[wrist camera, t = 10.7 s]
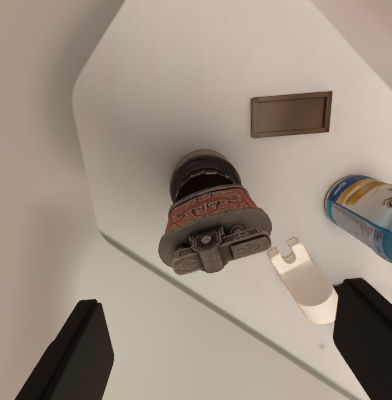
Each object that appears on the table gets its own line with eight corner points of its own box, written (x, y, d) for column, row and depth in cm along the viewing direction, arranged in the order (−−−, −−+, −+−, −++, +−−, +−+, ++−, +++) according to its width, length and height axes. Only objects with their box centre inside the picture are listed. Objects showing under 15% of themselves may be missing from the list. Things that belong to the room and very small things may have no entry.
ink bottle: (159, 172, 35) (142, 195, 23) (208, 133, 33) (215, 137, 22) (199, 221, 37) (202, 263, 26) (247, 187, 35) (272, 216, 24)
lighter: (175, 232, 24) (163, 300, 15) (163, 202, 23) (143, 255, 14) (251, 208, 24) (291, 264, 14) (242, 176, 23) (278, 213, 13)
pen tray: (251, 137, 33) (253, 138, 32) (250, 98, 32) (253, 97, 30) (322, 131, 33) (329, 131, 32) (326, 92, 32) (332, 91, 30)
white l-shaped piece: (292, 295, 41) (322, 346, 32) (266, 252, 39) (290, 293, 29) (320, 280, 40) (360, 328, 31) (295, 236, 38) (330, 273, 28)
